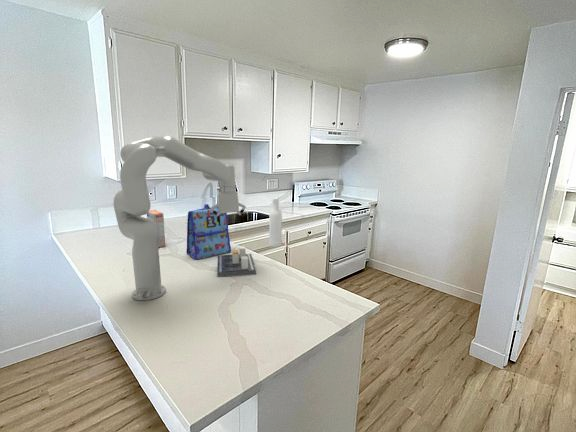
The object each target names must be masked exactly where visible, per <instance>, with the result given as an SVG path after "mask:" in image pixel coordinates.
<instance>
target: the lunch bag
mask: <svg viewBox="0 0 576 432" xmlns="http://www.w3.org/2000/svg"><path fill="white" fill-rule="evenodd" d="M203 206H204V207H203V208H198V209H194V210H189V211H188V212H187V222H186V223H187V224H186V225H187V226H186V252H185V253H186V254H187V255H189V256H191V257H192V258H193V259H194V260H195V261H196V260H200V259H201V260H202V259H205V258H210V257H214V256H221V255H226V254H228V253H229V254H230V253H232V248H231V239H230V233H229V221H228V213H221V214H220V224H219V222H217V216H216V215H215V214H214V213H213V211H212V210H211V207H210V206H209V204H207V203H205V204H204V205H203ZM214 210H215V211H216V212H218V207H216V208H215V209H214Z"/></svg>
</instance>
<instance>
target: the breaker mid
mask: <svg viewBox="0 0 576 432" xmlns="http://www.w3.org/2000/svg"><path fill="white" fill-rule="evenodd" d="M231 253H232V254H231V255H232V261H233V264H236V263H239V249H238V250H237V249H236V250H234V249H233V250H231Z"/></svg>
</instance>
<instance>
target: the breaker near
mask: <svg viewBox="0 0 576 432" xmlns="http://www.w3.org/2000/svg"><path fill="white" fill-rule="evenodd" d="M241 267H242V269H248V257H247V256H241Z"/></svg>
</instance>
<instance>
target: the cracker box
mask: <svg viewBox="0 0 576 432" xmlns="http://www.w3.org/2000/svg"><path fill="white" fill-rule="evenodd" d="M146 218H148V219H151V220H153V221H154V222H155V223H156V224H157V225H158V227H159V240H158V249H159V248H163V247H166V236H165V220H164V213H163V212H160V211H159V210H156V209H152V210H151V209H150V210H149V212H148V213H147V214H146Z"/></svg>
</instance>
